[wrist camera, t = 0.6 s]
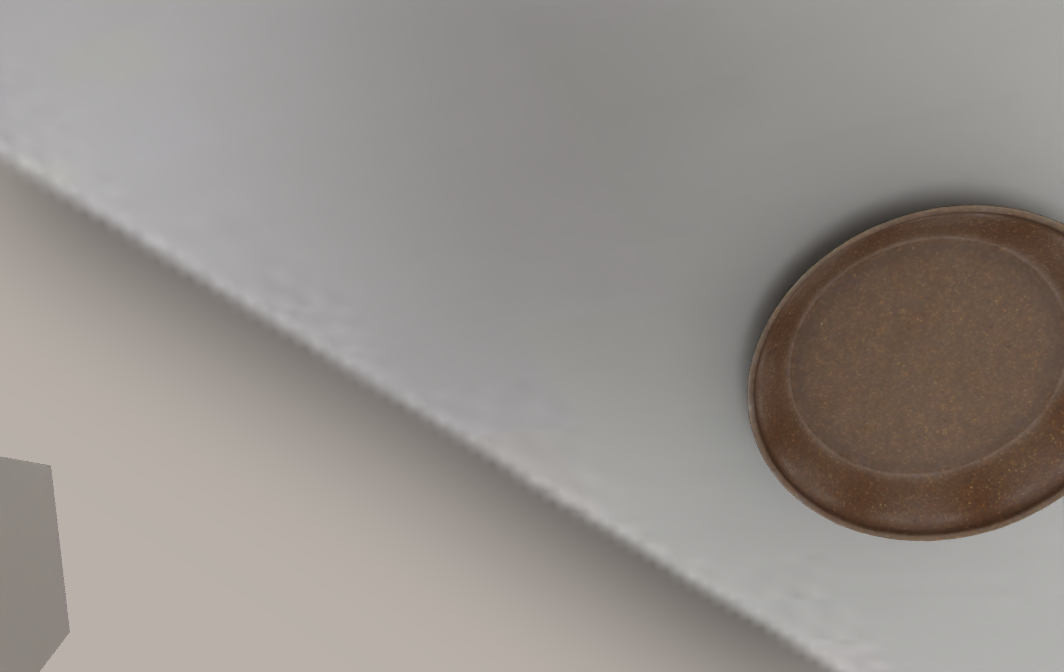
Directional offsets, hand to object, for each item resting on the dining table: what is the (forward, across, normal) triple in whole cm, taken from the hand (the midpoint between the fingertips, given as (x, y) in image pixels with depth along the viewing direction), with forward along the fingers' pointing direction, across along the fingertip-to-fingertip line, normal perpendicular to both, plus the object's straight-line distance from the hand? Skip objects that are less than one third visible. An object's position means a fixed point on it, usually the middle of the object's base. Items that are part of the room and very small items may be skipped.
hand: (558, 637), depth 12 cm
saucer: (+27, +14, -7) cm, 31 cm away
